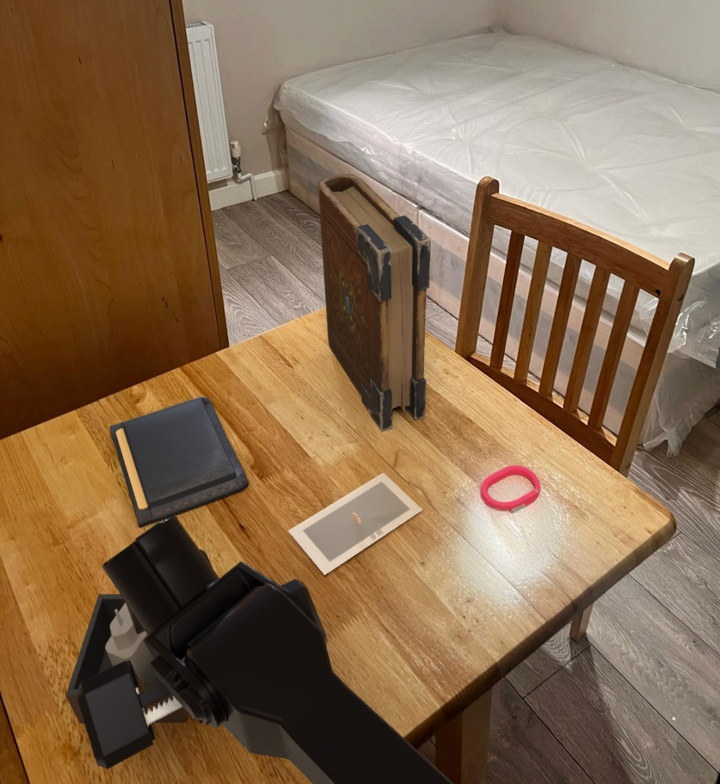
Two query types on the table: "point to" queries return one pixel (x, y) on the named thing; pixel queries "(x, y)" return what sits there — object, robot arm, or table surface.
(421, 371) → the decorative book
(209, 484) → the wallet
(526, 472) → the fitness band
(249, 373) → the table surface
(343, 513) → the white grey flat rectangle
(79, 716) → the open storage box
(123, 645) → the power adapter
